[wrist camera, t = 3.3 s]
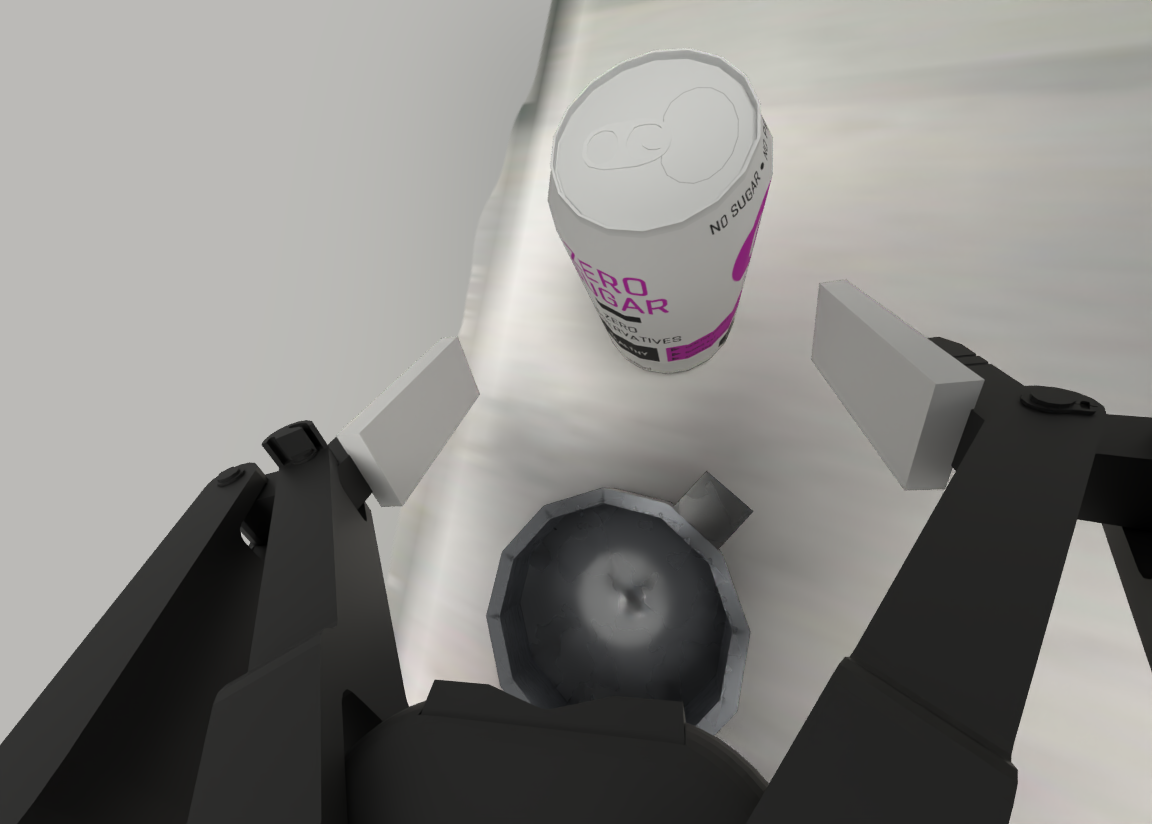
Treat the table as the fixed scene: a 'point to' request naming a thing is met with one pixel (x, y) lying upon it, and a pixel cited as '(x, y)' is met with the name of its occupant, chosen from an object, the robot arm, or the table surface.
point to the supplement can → (663, 200)
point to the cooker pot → (624, 603)
